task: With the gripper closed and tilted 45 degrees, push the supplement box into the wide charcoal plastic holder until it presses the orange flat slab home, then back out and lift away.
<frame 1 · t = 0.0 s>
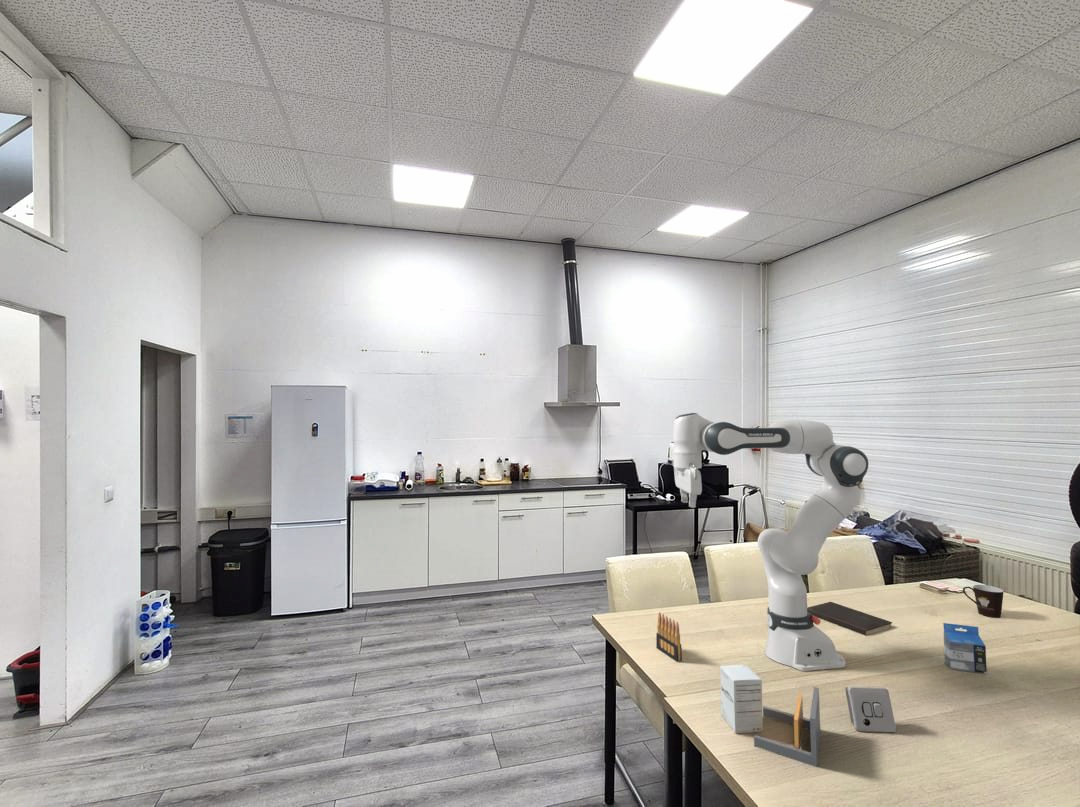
hand: (688, 504, 156), 48 cm above the table, tool pointing down, fingers open, 8 cm apart
ink cartridge box: (965, 669, 143), on the table
ammunition clip: (668, 655, 154), on the table
supplement box: (741, 724, 118), on the table
electrical switch: (868, 726, 117), on the table
holder: (782, 736, 113), on the table
coffee mug: (985, 613, 185), on the table
hardcover book: (846, 621, 180), on the table
orange flat slab: (798, 721, 111), point 5 cm above the table, slide at 0.0 cm
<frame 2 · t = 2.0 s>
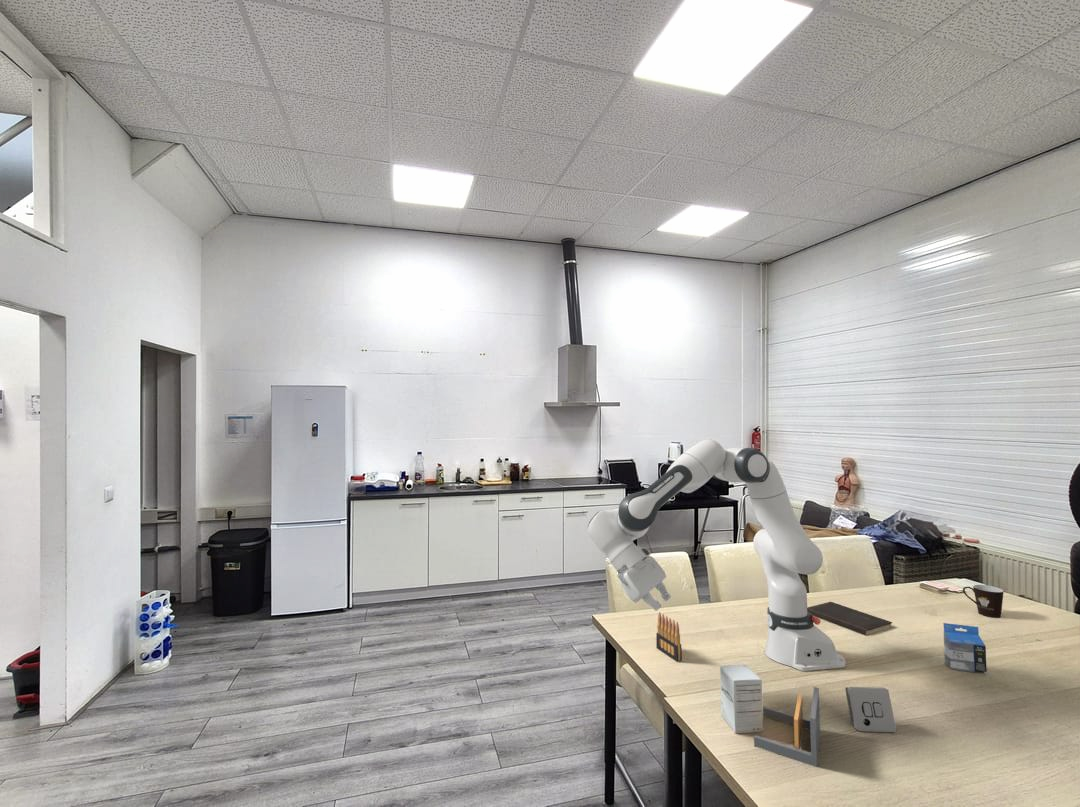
hand: (663, 603, 129), 26 cm above the table, tool tilted 45°, fingers open, 7 cm apart
nothing on the table moved.
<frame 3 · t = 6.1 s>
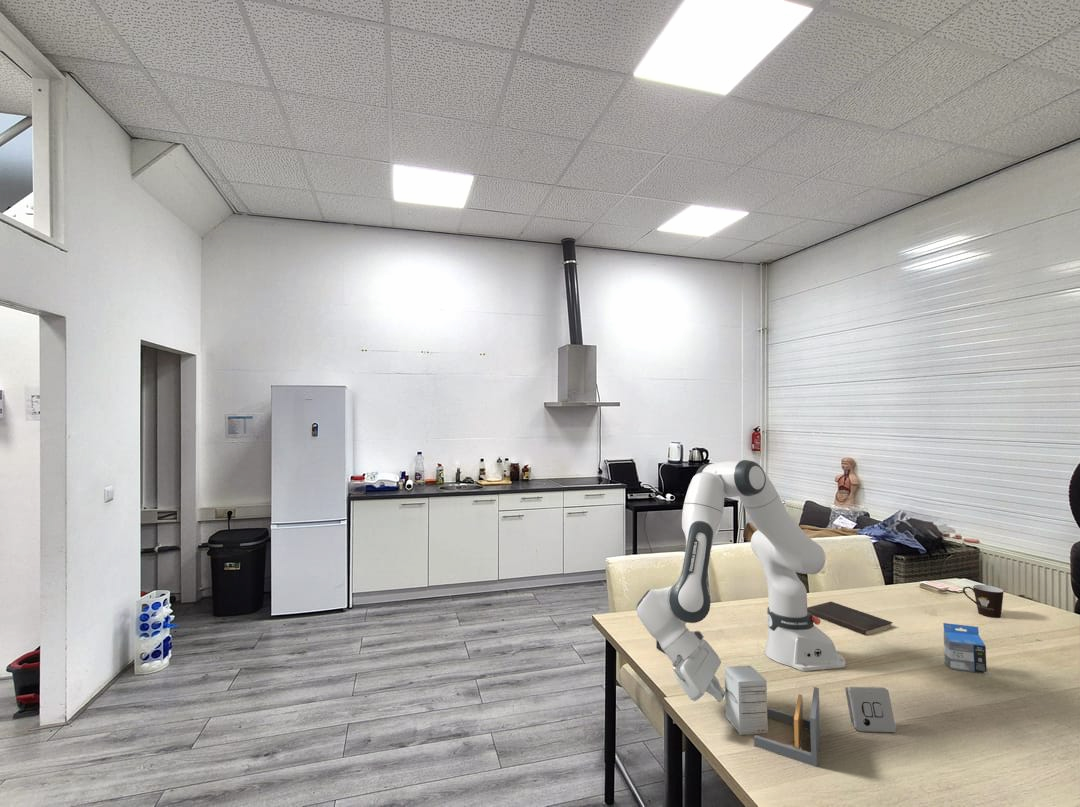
hand: (722, 698, 120), 5 cm above the table, tool tilted 45°, fingers closed
supplement box: (746, 726, 117), on the table, touching gripper
everything else where it was.
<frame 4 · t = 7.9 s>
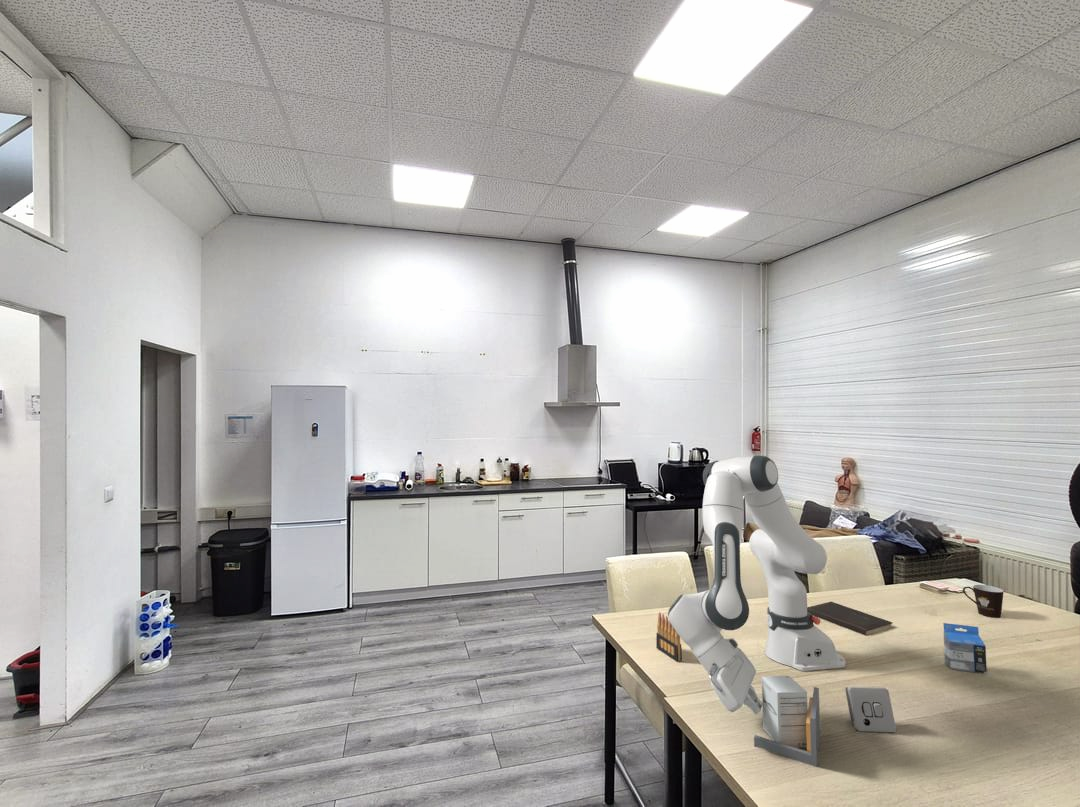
hand: (759, 709, 115), 5 cm above the table, tool tilted 45°, fingers closed
supplement box: (785, 738, 112), on the table, touching orange flat slab, gripper
orange flat slab: (810, 725, 110), point 5 cm above the table, slide at 2.4 cm, touching supplement box
everything else where it was.
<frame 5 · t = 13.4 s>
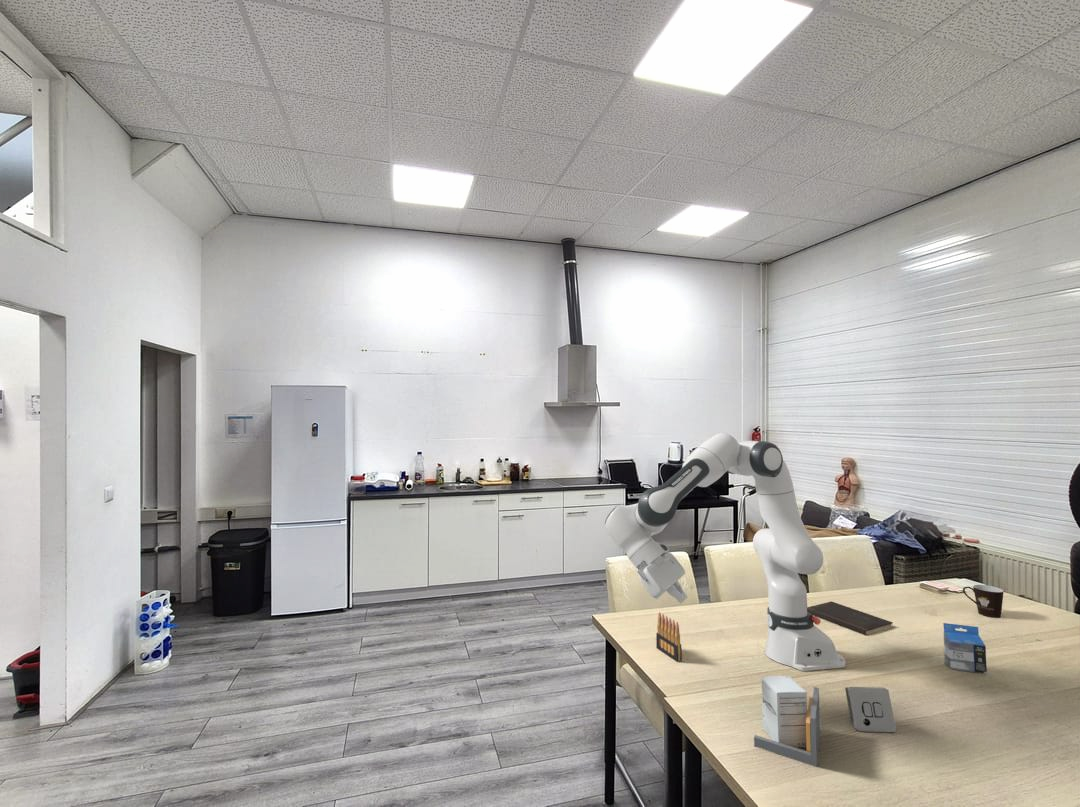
hand: (684, 600, 127), 27 cm above the table, tool tilted 45°, fingers closed
supplement box: (785, 738, 112), on the table, touching orange flat slab
everything else where it was.
at the end: orange flat slab slide at 2.3 cm; supplement box inside the target area on the holder (0.6 cm from its centre), point 0.0 cm above the holder's base; supplement box tilted 0° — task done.
